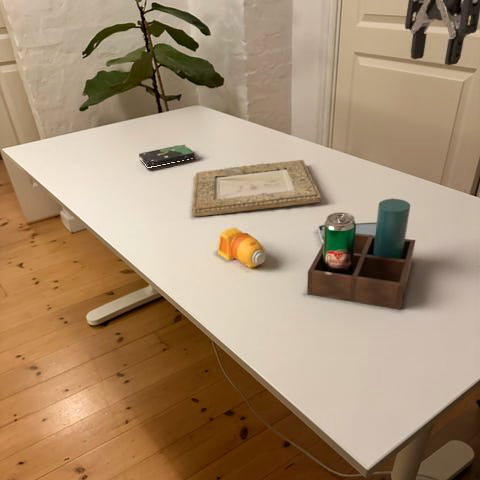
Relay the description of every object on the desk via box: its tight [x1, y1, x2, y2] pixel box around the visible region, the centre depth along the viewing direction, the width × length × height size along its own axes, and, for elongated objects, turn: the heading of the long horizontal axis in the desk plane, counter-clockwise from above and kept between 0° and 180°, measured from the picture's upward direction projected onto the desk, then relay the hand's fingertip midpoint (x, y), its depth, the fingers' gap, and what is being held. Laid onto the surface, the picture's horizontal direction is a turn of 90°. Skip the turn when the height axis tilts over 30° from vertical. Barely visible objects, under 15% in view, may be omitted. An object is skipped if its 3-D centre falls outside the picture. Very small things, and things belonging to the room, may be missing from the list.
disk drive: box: [138, 144, 196, 171], centre depth 140 cm, size 10×3×15 cm
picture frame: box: [191, 159, 322, 218], centre depth 117 cm, size 27×30×3 cm
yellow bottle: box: [217, 227, 266, 268], centre depth 89 cm, size 5×6×12 cm
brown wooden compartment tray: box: [306, 233, 416, 310], centre depth 81 cm, size 15×15×5 cm
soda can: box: [322, 211, 357, 276], centre depth 77 cm, size 5×5×12 cm
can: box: [373, 198, 411, 259], centre depth 80 cm, size 5×5×12 cm
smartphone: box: [317, 221, 377, 244], centre depth 94 cm, size 7×1×15 cm
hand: (433, 61), depth 80 cm, fingers open, 8 cm apart
